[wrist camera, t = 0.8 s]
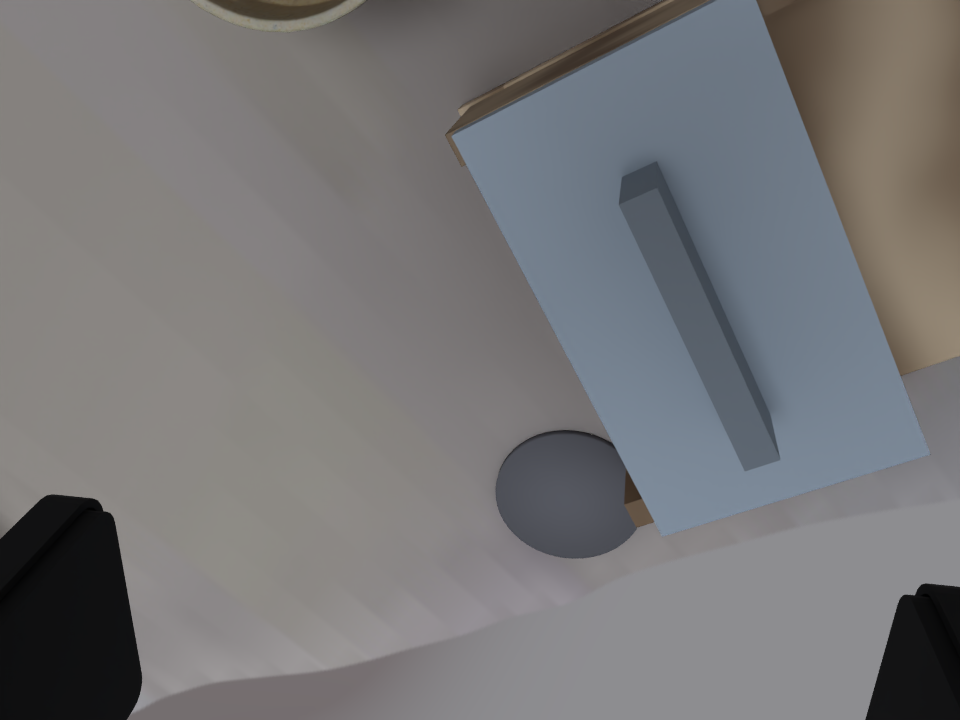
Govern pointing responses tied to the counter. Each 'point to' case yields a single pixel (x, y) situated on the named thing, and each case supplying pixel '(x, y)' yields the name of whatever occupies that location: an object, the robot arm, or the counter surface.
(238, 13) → the flower pot
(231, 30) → the counter surface
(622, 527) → the coaster
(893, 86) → the board
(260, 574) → the counter surface
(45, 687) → the robot arm
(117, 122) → the counter surface
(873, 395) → the lid
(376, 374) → the counter surface
